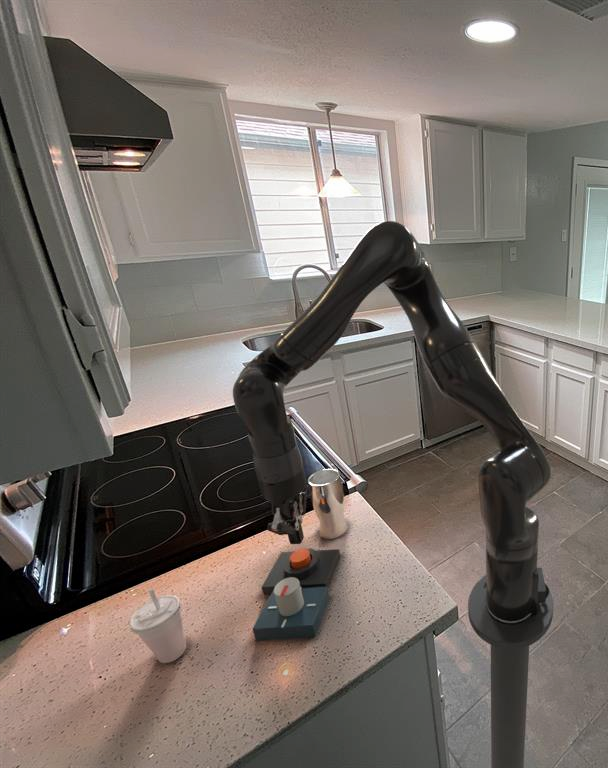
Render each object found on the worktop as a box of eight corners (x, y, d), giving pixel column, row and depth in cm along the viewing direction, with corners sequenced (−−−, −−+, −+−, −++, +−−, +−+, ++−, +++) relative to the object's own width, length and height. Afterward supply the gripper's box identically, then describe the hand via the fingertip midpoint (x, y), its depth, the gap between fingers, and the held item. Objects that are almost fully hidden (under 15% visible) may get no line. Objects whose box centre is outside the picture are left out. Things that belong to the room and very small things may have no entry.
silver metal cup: (330, 545, 92) (319, 490, 86) (311, 533, 96) (299, 479, 90) (355, 526, 98) (347, 474, 92) (337, 516, 101) (327, 464, 95)
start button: (313, 554, 85) (312, 548, 84) (307, 568, 82) (305, 561, 81) (295, 555, 85) (294, 549, 84) (288, 569, 81) (286, 562, 81)
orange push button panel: (340, 556, 89) (338, 542, 88) (327, 591, 81) (323, 576, 79) (283, 559, 88) (279, 545, 87) (263, 595, 80) (259, 580, 78)
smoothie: (203, 646, 70) (179, 586, 65) (158, 679, 65) (129, 617, 60) (185, 628, 73) (161, 569, 68) (141, 658, 68) (111, 598, 63)
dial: (284, 598, 76) (278, 577, 74) (307, 595, 76) (301, 574, 74) (275, 617, 72) (269, 595, 70) (299, 615, 73) (294, 593, 71)
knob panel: (330, 597, 80) (327, 585, 78) (315, 637, 72) (312, 624, 71) (276, 600, 79) (273, 588, 78) (255, 641, 71) (251, 629, 70)
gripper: (275, 450, 81) (291, 519, 87) (239, 492, 68) (261, 569, 75) (314, 449, 81) (327, 518, 88) (286, 490, 69) (303, 567, 76)
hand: (297, 541), depth 82 cm, fingers closed
